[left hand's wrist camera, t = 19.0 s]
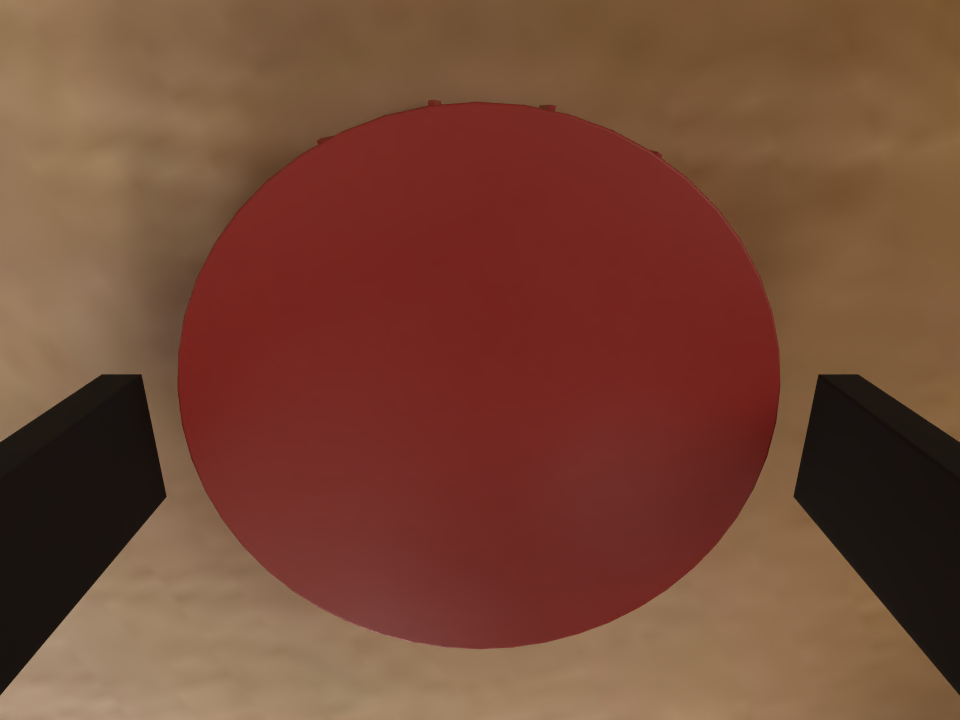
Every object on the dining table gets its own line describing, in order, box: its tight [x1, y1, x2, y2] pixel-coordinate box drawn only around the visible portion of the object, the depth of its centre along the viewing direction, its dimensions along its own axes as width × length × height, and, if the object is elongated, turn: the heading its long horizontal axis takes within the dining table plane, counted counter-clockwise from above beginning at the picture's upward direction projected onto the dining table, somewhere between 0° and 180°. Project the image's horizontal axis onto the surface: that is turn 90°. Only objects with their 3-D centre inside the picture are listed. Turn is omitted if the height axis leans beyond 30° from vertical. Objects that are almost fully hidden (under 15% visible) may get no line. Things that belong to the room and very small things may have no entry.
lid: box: [178, 100, 780, 649], centre depth 13 cm, size 11×11×2 cm
